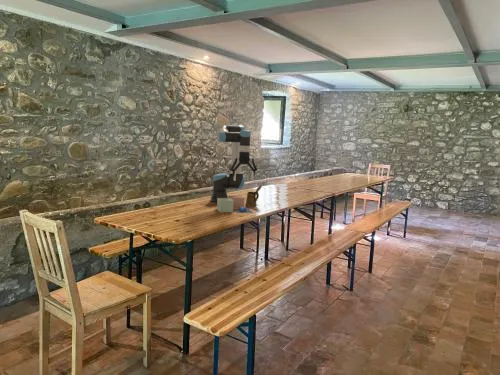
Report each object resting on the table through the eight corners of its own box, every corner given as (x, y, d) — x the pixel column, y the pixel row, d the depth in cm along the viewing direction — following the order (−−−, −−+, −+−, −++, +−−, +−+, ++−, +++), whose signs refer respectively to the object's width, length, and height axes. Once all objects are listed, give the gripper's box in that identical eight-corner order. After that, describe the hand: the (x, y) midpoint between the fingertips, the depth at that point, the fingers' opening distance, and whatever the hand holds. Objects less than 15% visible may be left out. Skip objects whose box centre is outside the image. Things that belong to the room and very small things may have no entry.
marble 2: (239, 211, 283) (239, 207, 282) (243, 211, 283) (243, 207, 283) (240, 212, 280) (240, 208, 279) (244, 211, 281) (244, 208, 280)
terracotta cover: (228, 206, 299) (228, 195, 297) (240, 206, 302) (240, 195, 300) (231, 209, 289) (231, 198, 288) (243, 209, 292) (244, 197, 290)
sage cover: (217, 209, 286) (217, 198, 285) (230, 209, 289) (230, 198, 288) (219, 212, 276) (220, 200, 275) (233, 212, 279) (233, 200, 278)
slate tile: (232, 209, 288) (232, 209, 288) (248, 209, 291) (248, 209, 291) (236, 213, 276) (236, 213, 275) (253, 213, 279) (253, 212, 279)
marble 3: (242, 210, 285) (242, 206, 285) (246, 210, 286) (246, 206, 285) (243, 211, 282) (243, 207, 282) (247, 211, 283) (247, 207, 283)
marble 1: (238, 210, 286) (238, 206, 285) (242, 210, 287) (242, 206, 286) (239, 211, 283) (239, 207, 282) (243, 211, 284) (243, 207, 283)
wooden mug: (257, 208, 298) (258, 185, 296) (243, 205, 305) (244, 183, 302) (263, 206, 306) (264, 184, 303) (248, 204, 313) (249, 182, 310)
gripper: (229, 151, 266) (228, 181, 269) (262, 152, 274) (261, 181, 277) (226, 150, 273) (225, 179, 276) (259, 151, 281) (257, 179, 284)
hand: (243, 180), depth 277 cm, fingers open, 13 cm apart
